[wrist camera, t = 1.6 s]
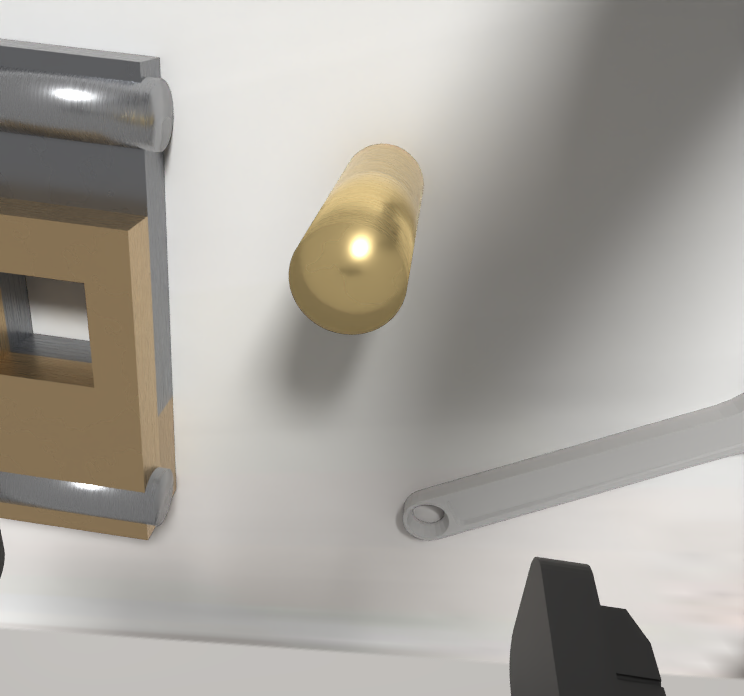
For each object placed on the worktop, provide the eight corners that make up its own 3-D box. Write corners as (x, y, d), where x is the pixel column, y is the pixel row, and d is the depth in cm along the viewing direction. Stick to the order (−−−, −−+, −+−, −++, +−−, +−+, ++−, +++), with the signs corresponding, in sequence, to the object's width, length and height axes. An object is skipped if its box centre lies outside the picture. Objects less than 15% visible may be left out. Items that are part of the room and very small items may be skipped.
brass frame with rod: (-68, 30, 29) (-149, 37, 25) (171, 58, 28) (126, 70, 25) (8, 464, 39) (-42, 517, 35) (184, 490, 39) (154, 547, 35)
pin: (346, 139, 29) (291, 215, 19) (428, 149, 29) (414, 231, 19) (340, 218, 31) (286, 326, 21) (418, 228, 31) (400, 341, 21)
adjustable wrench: (415, 527, 39) (412, 550, 37) (374, 433, 36) (370, 453, 35) (930, 419, 32) (954, 441, 31) (925, 296, 30) (950, 313, 28)
